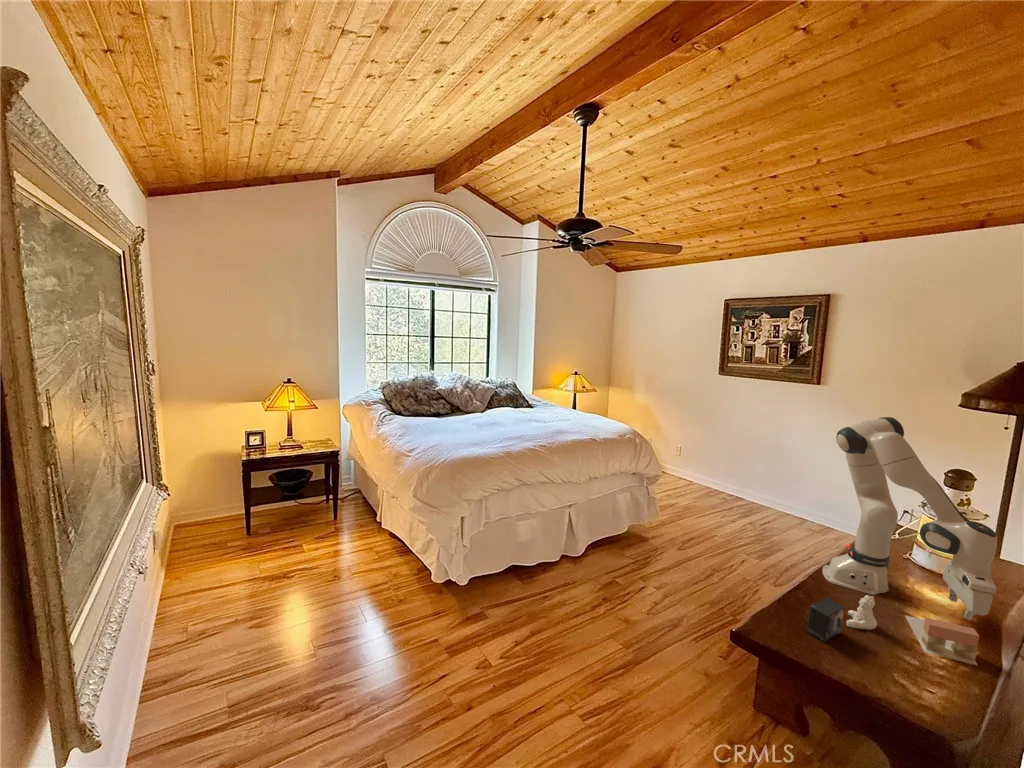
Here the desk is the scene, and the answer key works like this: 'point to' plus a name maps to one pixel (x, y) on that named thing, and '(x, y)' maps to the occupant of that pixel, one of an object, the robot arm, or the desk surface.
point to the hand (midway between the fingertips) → (959, 608)
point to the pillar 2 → (964, 651)
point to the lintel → (951, 632)
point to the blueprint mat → (948, 652)
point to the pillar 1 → (933, 643)
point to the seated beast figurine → (863, 615)
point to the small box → (825, 619)
